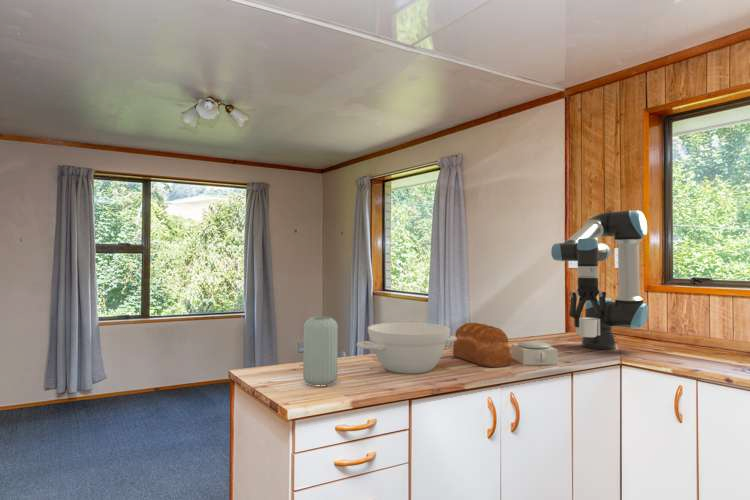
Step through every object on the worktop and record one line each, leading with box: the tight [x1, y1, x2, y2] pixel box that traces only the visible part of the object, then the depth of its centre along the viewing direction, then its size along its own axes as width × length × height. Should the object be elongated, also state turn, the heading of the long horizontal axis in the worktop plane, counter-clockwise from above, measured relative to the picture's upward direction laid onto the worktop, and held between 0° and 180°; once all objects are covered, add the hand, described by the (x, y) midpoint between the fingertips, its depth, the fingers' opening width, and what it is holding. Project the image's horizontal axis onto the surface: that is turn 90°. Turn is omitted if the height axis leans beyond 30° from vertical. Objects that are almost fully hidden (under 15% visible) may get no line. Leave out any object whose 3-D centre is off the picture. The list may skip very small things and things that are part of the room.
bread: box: [452, 322, 512, 368], centre depth 206 cm, size 14×26×16 cm, turn 24°
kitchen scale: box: [511, 340, 559, 366], centre depth 205 cm, size 15×14×7 cm
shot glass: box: [579, 317, 598, 338], centre depth 195 cm, size 7×7×7 cm
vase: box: [302, 316, 339, 386], centre depth 167 cm, size 12×12×22 cm
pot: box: [356, 321, 457, 375], centre depth 190 cm, size 44×32×16 cm
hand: (588, 335), depth 195 cm, fingers closed on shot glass, 7 cm apart
